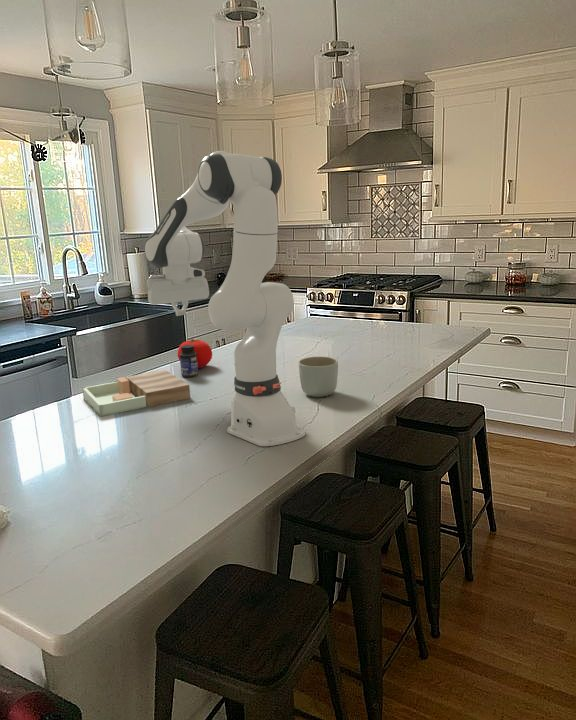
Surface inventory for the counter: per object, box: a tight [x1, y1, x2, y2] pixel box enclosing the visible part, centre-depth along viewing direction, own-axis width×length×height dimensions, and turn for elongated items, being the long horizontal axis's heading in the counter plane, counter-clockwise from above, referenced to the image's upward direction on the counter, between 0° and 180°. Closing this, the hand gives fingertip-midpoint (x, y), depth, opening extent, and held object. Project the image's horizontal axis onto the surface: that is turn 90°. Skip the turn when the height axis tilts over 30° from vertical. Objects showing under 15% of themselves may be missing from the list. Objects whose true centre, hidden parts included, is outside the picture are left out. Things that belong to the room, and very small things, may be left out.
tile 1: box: [112, 393, 133, 402], centre depth 185 cm, size 5×5×2 cm
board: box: [125, 369, 191, 408], centre depth 195 cm, size 22×14×4 cm, turn 31°
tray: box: [81, 381, 147, 417], centre depth 188 cm, size 22×14×4 cm, turn 31°
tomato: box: [177, 338, 213, 369], centre depth 225 cm, size 12×13×11 cm
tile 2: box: [116, 376, 131, 394], centre depth 194 cm, size 5×5×2 cm
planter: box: [298, 356, 339, 398], centre depth 187 cm, size 12×12×11 cm
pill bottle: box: [179, 345, 199, 378], centre depth 214 cm, size 6×6×11 cm
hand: (180, 315), depth 195 cm, fingers closed
